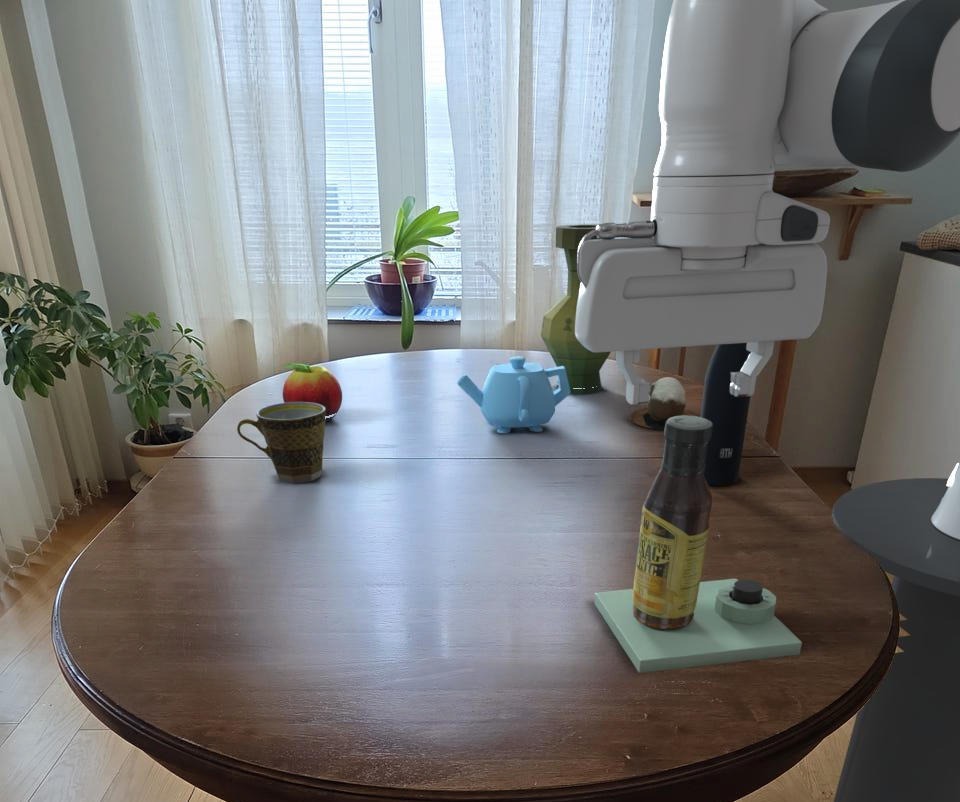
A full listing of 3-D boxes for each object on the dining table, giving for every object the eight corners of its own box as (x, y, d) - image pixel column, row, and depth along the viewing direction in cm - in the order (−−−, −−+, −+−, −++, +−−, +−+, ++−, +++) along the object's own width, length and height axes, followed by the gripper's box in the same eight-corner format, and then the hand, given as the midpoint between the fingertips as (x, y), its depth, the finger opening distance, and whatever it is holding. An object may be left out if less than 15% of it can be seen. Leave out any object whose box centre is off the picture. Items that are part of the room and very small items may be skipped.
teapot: (559, 411, 154) (561, 346, 148) (579, 436, 139) (582, 365, 133) (453, 416, 152) (451, 350, 146) (463, 442, 137) (461, 370, 131)
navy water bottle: (711, 468, 124) (740, 251, 109) (746, 479, 119) (782, 254, 104) (683, 477, 121) (709, 254, 105) (718, 489, 116) (751, 258, 101)
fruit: (322, 430, 145) (315, 372, 140) (273, 423, 149) (265, 367, 144) (355, 415, 154) (350, 360, 149) (308, 409, 158) (302, 356, 153)
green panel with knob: (737, 589, 89) (741, 564, 88) (803, 654, 77) (809, 627, 76) (594, 604, 87) (595, 578, 85) (639, 673, 75) (641, 645, 74)
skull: (621, 405, 152) (662, 363, 148) (659, 442, 155) (700, 402, 151) (627, 421, 141) (672, 375, 137) (668, 460, 144) (713, 417, 140)
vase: (583, 375, 178) (590, 222, 163) (634, 389, 167) (647, 226, 152) (523, 387, 170) (525, 226, 155) (573, 402, 159) (580, 231, 144)
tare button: (752, 592, 83) (754, 578, 82) (765, 604, 81) (768, 590, 80) (726, 594, 83) (728, 580, 82) (738, 607, 80) (741, 593, 79)
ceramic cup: (327, 462, 130) (319, 399, 125) (338, 482, 121) (330, 415, 116) (243, 472, 126) (232, 407, 121) (249, 493, 118) (237, 425, 113)
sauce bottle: (619, 609, 83) (635, 413, 73) (674, 599, 85) (697, 406, 74) (651, 639, 78) (672, 433, 67) (708, 628, 79) (738, 425, 69)
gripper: (591, 226, 59) (583, 417, 66) (851, 215, 62) (817, 399, 69) (567, 221, 64) (562, 398, 71) (807, 211, 67) (780, 382, 74)
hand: (689, 398), depth 70 cm, fingers open, 8 cm apart
